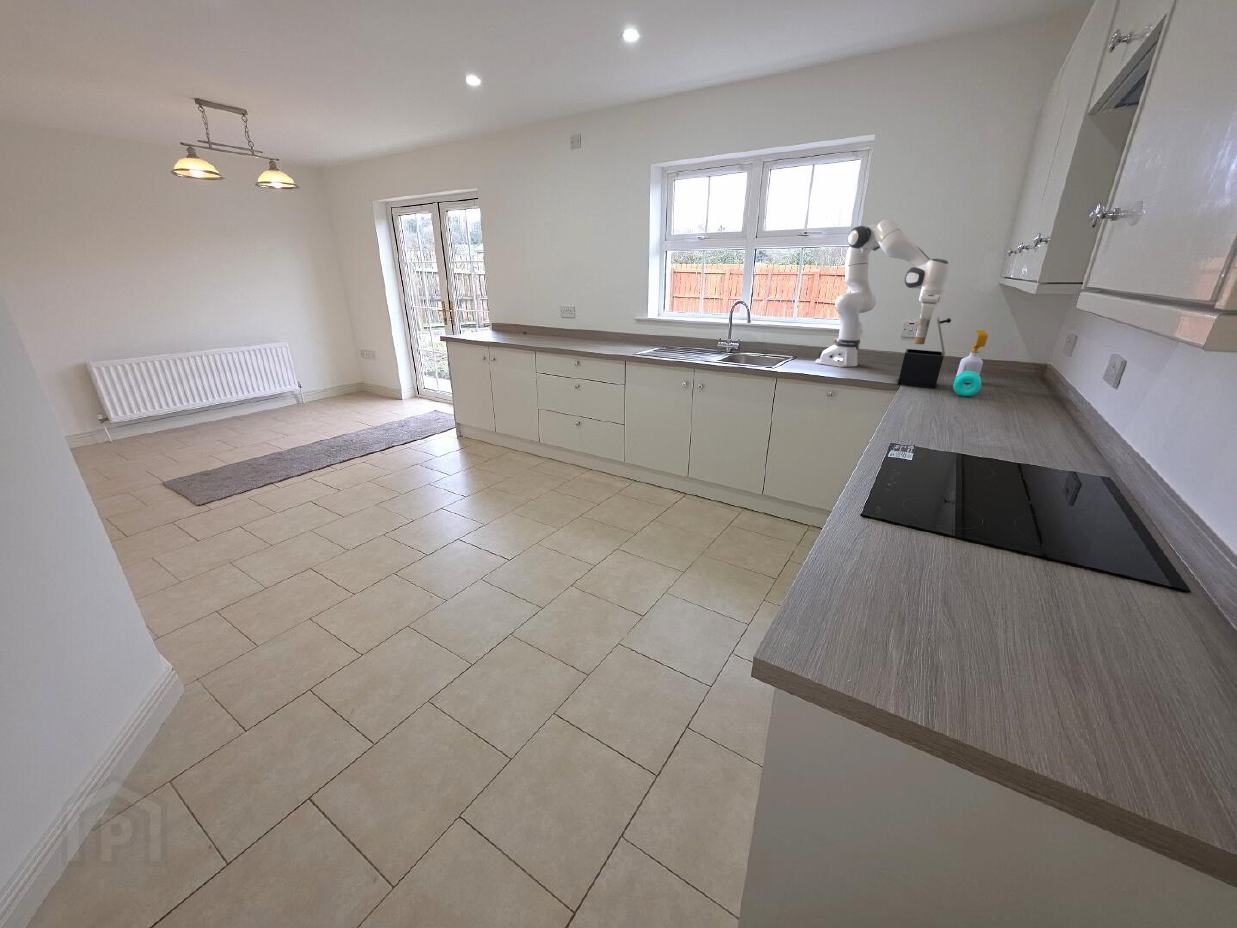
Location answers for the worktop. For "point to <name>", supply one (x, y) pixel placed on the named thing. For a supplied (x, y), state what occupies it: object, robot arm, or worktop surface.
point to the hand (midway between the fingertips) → (922, 328)
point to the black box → (920, 368)
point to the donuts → (970, 389)
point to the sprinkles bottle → (921, 332)
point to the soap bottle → (974, 355)
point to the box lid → (941, 331)
